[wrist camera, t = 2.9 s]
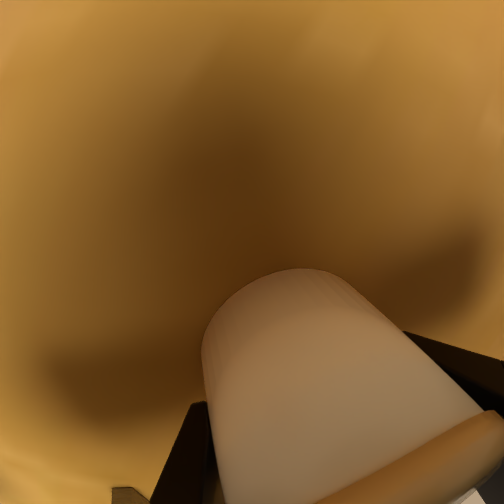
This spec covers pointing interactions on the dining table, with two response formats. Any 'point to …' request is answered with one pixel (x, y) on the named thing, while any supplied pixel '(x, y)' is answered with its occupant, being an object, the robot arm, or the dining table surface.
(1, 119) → the dining table surface
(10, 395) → the dining table surface
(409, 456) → the jar
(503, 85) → the dining table surface
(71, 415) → the dining table surface
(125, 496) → the grey u-shaped frame
